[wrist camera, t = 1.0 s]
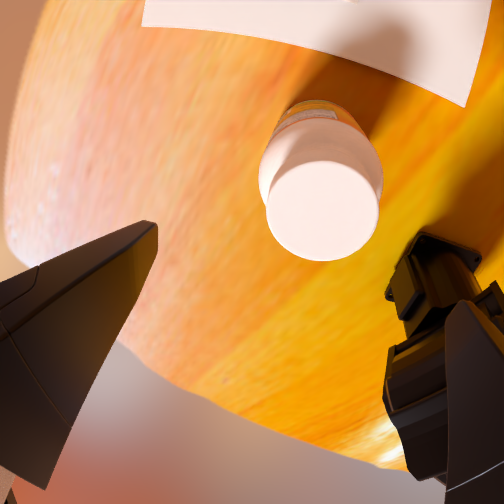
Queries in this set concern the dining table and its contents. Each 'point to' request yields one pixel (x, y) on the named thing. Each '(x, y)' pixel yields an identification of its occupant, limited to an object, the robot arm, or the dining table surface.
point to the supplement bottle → (320, 182)
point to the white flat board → (355, 32)
